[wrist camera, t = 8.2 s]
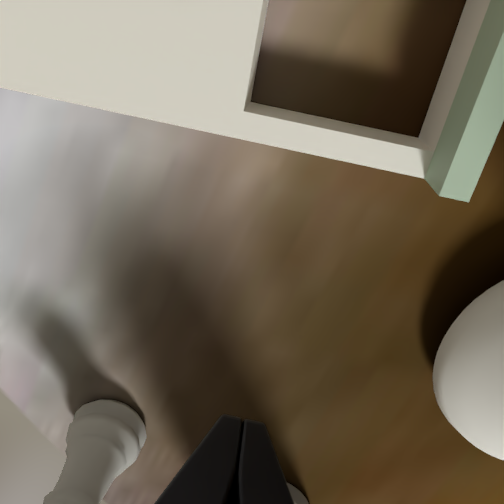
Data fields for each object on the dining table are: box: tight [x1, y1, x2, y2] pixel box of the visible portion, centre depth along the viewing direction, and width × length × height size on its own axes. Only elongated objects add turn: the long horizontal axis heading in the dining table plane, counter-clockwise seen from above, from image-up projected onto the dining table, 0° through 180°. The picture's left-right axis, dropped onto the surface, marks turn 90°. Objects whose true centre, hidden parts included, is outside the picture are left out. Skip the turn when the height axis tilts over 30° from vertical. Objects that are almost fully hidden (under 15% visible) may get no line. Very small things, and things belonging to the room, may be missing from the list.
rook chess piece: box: [43, 399, 147, 504], centre depth 24 cm, size 4×4×8 cm
